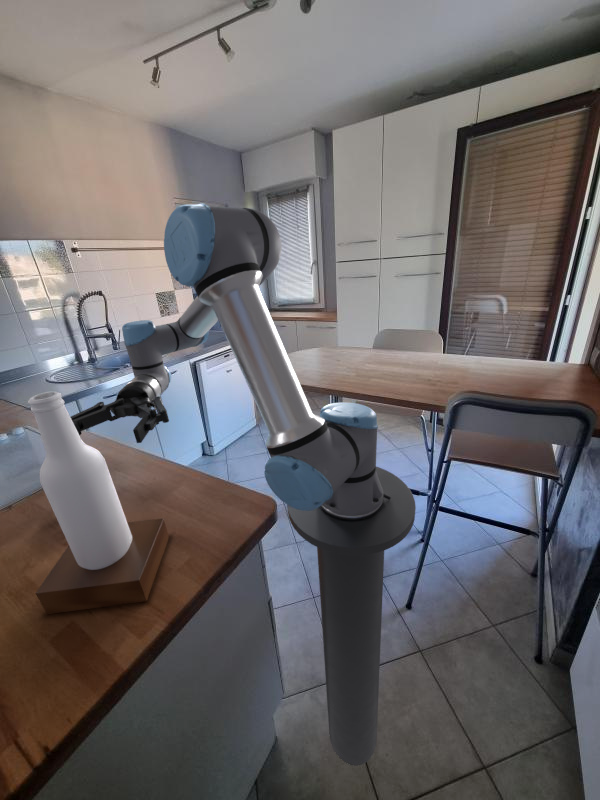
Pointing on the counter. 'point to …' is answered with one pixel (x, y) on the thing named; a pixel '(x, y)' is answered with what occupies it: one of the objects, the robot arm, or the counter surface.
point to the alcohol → (79, 488)
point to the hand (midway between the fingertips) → (97, 440)
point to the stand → (107, 574)
